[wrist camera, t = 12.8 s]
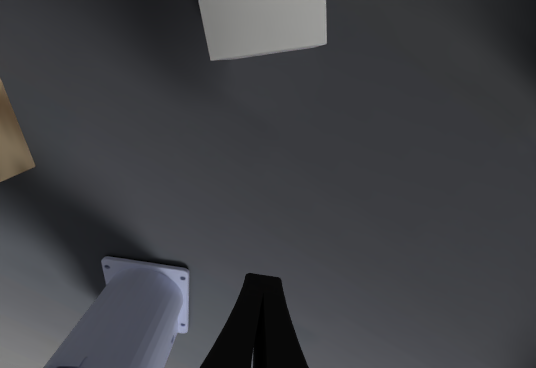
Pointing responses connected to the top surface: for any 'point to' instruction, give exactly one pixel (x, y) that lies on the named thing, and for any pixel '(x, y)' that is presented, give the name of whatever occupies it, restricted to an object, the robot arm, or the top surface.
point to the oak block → (11, 142)
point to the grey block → (262, 26)
